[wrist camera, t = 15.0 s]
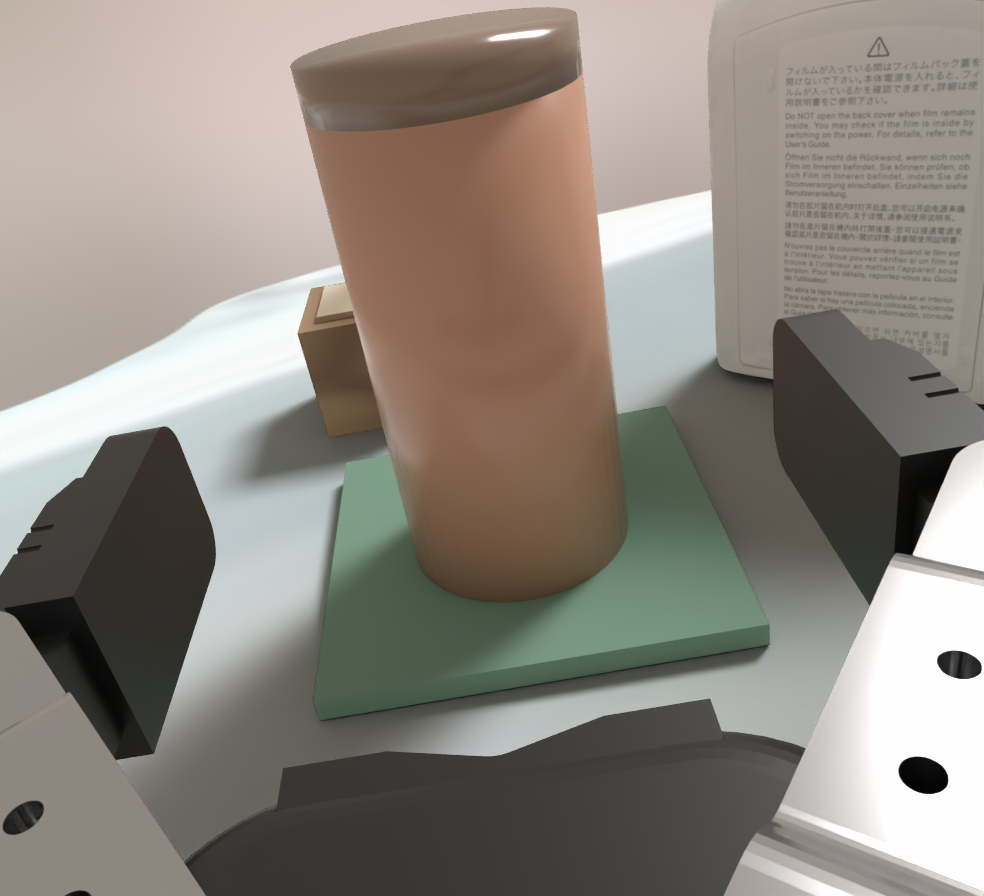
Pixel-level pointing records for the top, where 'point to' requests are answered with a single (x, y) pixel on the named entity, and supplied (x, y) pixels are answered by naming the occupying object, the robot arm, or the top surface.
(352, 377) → the letter block
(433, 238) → the canister
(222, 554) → the top surface
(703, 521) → the green mat
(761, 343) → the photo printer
